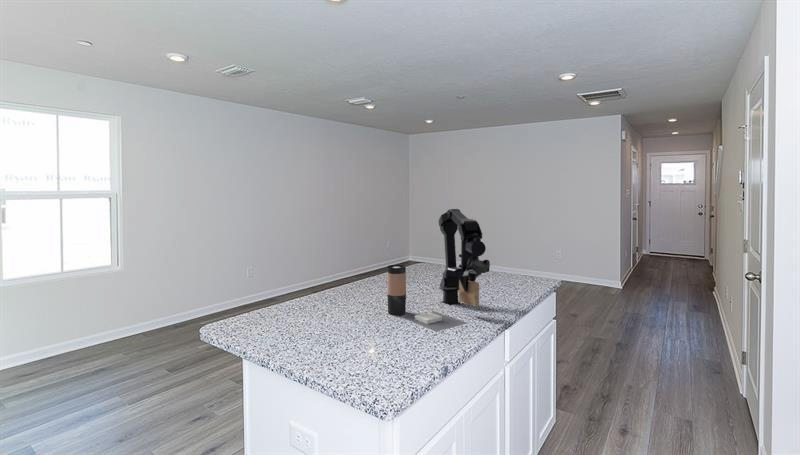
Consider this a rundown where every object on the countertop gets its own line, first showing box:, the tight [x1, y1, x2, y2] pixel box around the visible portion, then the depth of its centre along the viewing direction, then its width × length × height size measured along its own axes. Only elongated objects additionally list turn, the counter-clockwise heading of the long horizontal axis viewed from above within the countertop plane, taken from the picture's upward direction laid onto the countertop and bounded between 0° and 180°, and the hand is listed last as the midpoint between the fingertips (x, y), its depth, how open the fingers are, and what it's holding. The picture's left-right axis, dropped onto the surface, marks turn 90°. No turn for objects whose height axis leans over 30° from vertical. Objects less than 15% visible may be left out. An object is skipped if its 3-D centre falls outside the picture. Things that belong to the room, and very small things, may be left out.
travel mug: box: [386, 264, 407, 317], centre depth 174 cm, size 8×8×20 cm
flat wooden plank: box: [458, 280, 480, 307], centre depth 169 cm, size 9×2×9 cm, turn 36°
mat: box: [403, 310, 468, 332], centre depth 165 cm, size 20×16×1 cm
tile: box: [415, 311, 442, 324], centre depth 166 cm, size 8×2×8 cm
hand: (468, 291), depth 169 cm, fingers closed on flat wooden plank, 2 cm apart
